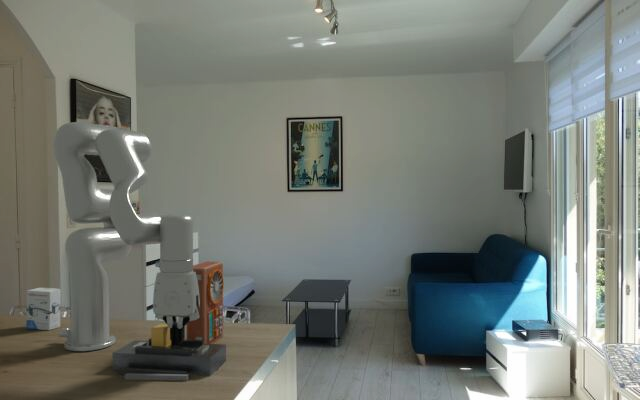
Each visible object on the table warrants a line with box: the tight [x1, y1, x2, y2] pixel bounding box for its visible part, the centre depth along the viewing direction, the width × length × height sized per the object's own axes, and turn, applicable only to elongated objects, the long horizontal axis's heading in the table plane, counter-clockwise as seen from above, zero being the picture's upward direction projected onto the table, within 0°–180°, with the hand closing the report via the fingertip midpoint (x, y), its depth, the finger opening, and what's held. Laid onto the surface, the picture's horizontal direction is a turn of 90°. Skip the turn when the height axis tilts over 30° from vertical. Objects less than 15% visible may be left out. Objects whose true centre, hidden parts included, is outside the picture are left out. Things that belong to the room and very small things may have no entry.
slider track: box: [112, 337, 227, 376], centre depth 121 cm, size 24×10×5 cm, turn 81°
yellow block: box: [150, 323, 171, 347], centre depth 121 cm, size 3×4×5 cm
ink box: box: [25, 287, 62, 331], centre depth 155 cm, size 9×5×12 cm, turn 77°
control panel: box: [185, 260, 225, 344], centre depth 139 cm, size 21×7×15 cm
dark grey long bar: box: [117, 367, 187, 376], centre depth 114 cm, size 16×1×1 cm, turn 81°
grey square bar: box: [124, 373, 189, 382], centre depth 112 cm, size 14×1×1 cm, turn 87°
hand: (177, 343), depth 121 cm, fingers closed
